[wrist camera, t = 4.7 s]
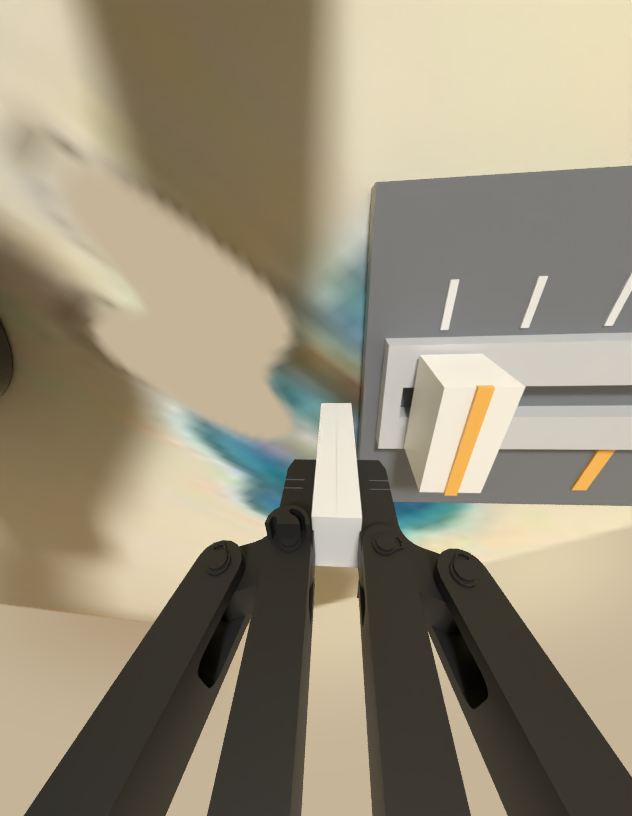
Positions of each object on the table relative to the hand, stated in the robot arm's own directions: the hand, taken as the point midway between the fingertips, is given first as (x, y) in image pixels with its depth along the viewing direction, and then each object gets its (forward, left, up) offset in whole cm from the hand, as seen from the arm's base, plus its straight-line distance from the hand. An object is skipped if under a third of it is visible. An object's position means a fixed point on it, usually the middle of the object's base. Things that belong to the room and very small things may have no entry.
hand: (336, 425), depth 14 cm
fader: (+6, 0, -3) cm, 6 cm away
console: (+14, 0, -5) cm, 14 cm away
